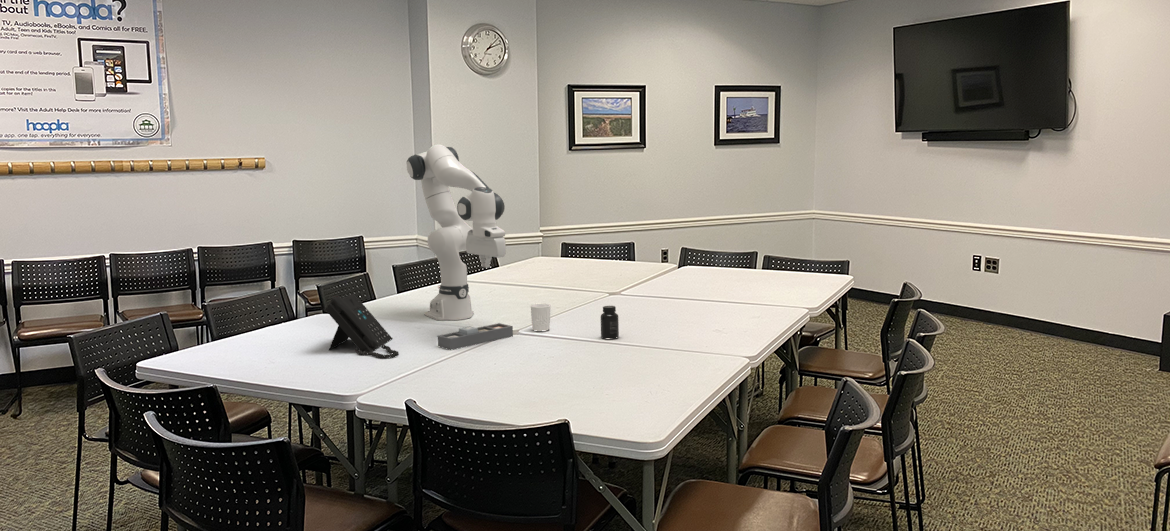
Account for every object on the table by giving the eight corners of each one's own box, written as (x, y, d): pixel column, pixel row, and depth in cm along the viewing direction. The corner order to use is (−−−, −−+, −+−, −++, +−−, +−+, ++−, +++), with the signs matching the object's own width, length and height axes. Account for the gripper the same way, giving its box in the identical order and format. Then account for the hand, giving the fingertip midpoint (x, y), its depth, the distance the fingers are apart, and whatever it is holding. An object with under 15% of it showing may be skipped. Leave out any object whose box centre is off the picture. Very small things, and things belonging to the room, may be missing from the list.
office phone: (394, 360, 291) (391, 302, 288) (316, 358, 294) (312, 301, 291) (421, 340, 319) (418, 288, 317) (349, 338, 323) (346, 287, 320)
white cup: (550, 332, 329) (549, 307, 327) (530, 332, 329) (529, 307, 328) (551, 327, 337) (551, 303, 335) (531, 328, 337) (531, 303, 335)
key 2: (459, 335, 313) (458, 328, 312) (469, 332, 316) (469, 325, 316) (467, 337, 309) (466, 330, 309) (478, 334, 313) (477, 327, 312)
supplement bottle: (619, 335, 322) (619, 304, 320) (618, 339, 315) (618, 308, 313) (601, 335, 322) (601, 304, 321) (600, 339, 316) (599, 308, 314)
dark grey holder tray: (438, 346, 308) (437, 335, 308) (499, 333, 328) (499, 323, 328) (450, 349, 303) (450, 339, 302) (512, 336, 323) (512, 326, 322)
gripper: (461, 229, 321) (462, 265, 323) (494, 233, 307) (495, 270, 309) (474, 228, 325) (475, 263, 327) (508, 231, 311) (509, 268, 313)
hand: (485, 267), depth 318 cm, fingers closed
